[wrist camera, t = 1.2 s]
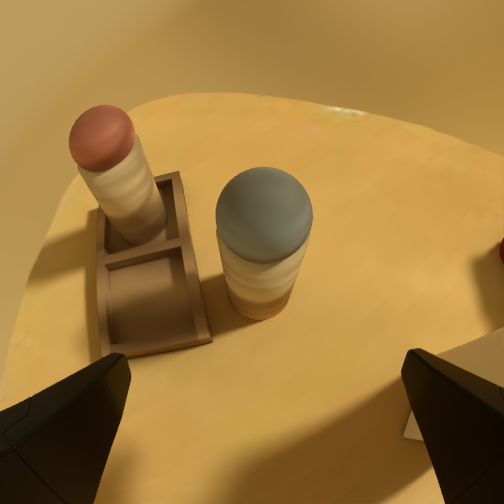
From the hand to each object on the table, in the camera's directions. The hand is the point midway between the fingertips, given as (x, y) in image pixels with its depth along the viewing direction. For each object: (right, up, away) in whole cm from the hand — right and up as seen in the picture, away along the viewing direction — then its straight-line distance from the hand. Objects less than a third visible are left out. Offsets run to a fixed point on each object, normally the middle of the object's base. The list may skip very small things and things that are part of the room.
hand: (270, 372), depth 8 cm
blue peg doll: (0, 0, +15) cm, 15 cm away
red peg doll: (-11, +6, +18) cm, 22 cm away
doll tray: (-10, +3, +16) cm, 19 cm away
